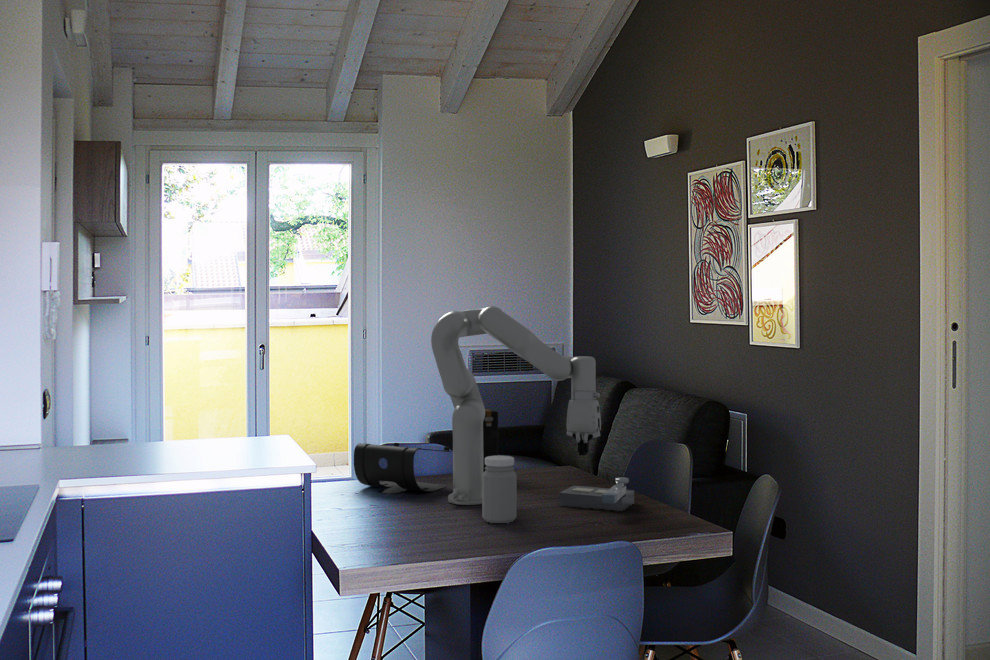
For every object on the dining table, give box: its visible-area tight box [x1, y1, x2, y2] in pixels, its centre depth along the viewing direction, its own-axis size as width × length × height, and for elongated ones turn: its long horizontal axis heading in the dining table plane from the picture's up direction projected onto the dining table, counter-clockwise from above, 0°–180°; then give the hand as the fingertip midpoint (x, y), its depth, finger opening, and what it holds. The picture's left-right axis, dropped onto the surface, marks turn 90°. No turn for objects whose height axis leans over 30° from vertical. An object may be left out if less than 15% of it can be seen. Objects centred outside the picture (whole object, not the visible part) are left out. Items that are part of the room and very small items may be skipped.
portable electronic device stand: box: [353, 442, 453, 495], centre depth 304 cm, size 26×24×16 cm
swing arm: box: [602, 476, 630, 504], centre depth 267 cm, size 4×20×4 cm, turn 160°
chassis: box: [558, 483, 635, 512], centre depth 278 cm, size 13×20×7 cm, turn 65°
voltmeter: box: [483, 408, 499, 473], centre depth 324 cm, size 16×9×25 cm, turn 25°
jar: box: [481, 454, 518, 524], centre depth 255 cm, size 10×10×18 cm
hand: (583, 454), depth 279 cm, fingers closed
